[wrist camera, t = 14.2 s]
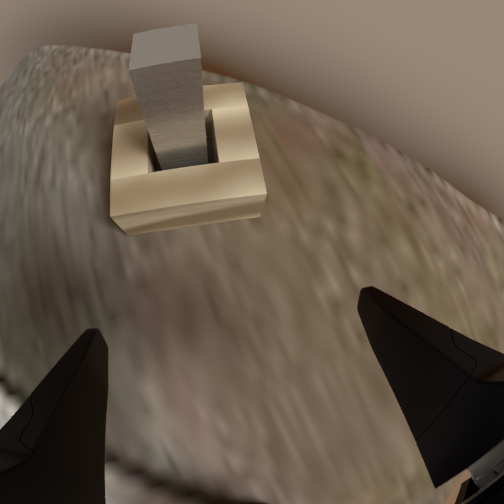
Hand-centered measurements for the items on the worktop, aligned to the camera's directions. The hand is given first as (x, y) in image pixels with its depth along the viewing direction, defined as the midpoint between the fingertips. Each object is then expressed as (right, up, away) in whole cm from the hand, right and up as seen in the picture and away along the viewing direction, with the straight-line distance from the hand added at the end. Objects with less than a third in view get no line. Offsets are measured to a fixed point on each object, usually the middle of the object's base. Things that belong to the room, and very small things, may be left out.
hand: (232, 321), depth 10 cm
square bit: (-5, +10, +16) cm, 19 cm away
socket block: (-5, +10, +16) cm, 19 cm away
